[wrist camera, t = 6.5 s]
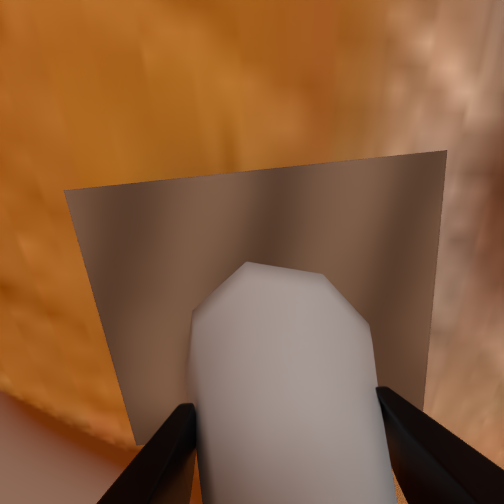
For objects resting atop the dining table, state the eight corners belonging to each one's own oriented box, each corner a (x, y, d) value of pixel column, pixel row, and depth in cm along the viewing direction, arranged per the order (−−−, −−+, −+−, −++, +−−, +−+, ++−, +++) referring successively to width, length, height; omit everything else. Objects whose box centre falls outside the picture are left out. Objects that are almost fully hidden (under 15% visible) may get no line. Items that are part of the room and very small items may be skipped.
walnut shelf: (393, 159, 14) (447, 150, 10) (384, 368, 18) (422, 419, 14) (113, 189, 14) (63, 190, 10) (160, 389, 18) (136, 445, 14)
